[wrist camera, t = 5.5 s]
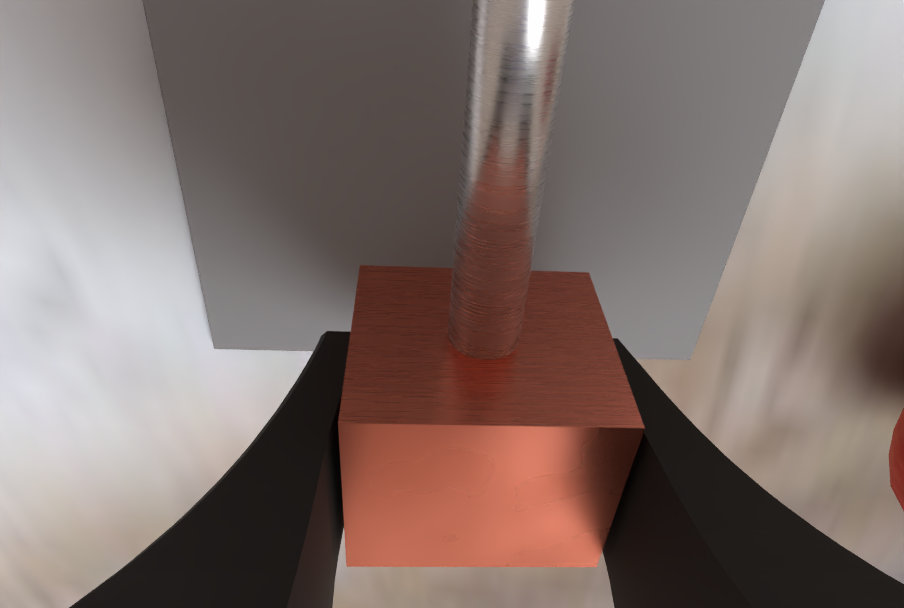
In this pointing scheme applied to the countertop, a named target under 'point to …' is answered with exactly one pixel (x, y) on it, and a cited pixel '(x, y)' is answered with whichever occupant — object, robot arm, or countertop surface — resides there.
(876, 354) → the countertop surface
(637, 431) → the copper cube mallet
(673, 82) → the gray panel
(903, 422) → the onion
